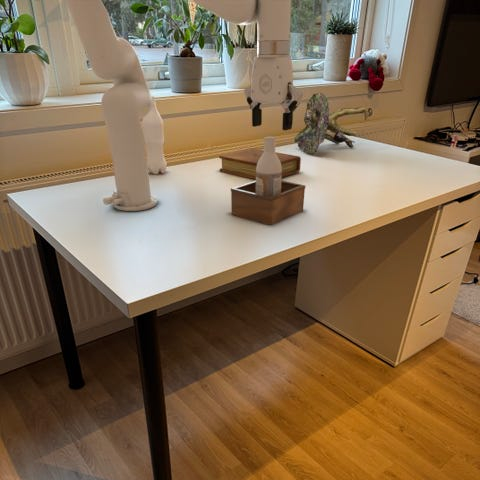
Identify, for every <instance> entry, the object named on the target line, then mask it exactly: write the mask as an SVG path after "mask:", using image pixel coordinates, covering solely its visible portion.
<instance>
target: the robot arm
mask: <svg viewBox="0 0 480 480" xmlns="http://www.w3.org/2000/svg"><path fill="white" fill-rule="evenodd" d="M190 2H193V3H194V4H196V5H197V6H199V7H201V8H202V9H204V10H206V11H208V12H210V13H211V14H213V15H215V16H216V17H219V18H220V19H221V20H223V21H226V22H227V23H230V24H232V25H238V26H248V25H254V24H257V41H256V42H257V43H256V44H255V45H254V50H255V51H256V52H257V56H254V59H253V64H252V69H251V79H250V82H251V83H250V85H249V86H248V87H246V88H244V90H243V92H244V96H245V98H246V102H247V104H248V106H249V109H250V111H251V126H252V127H253V128H254V127H261V126H262V123H263V110H262V108H261V107H262V105H263V104H270V105H280V106H281V107H282V109H283V110H284V112H282V128H281V129H282V130H283V131H290V130H292V129H293V120H294V112H295V111H296V110H297V108H298V107H299V106H300V102H301V101H302V98H303V96H304V93H303V92H302V91H301V90H300V89H299V88H297V87H296V86H295V85H294V72H293V70H294V69H293V61H292V57H291V56H290V39H291V18H292V17H291V15H292V14H291V11H292V0H190ZM65 3H66V5H67V7H68V10H69V12H70V14H71V17H72V20H73V21H74V26H75V28H76V30H77V34H78V37H79V39H80V41H81V44H82V47H83V50H84V52H85V55H86V57H87V61H88V64H89V66H90V68H91V71H92V73H94V74H95V76H96V77H97V78H99V79H101V80H105V81H112V84H113V85H111V86H110V87H109V88H107V89H106V90H105V92H104V93H103V94H102V97H101V102H100V109H101V112H102V117H103V121H104V124H105V127H106V131H107V136H108V141H109V149H110V154H111V161H112V167H113V175H114V181H115V189H116V190H114V191H113V194H112V195H111V196H107V197H103V198H102V203H103V205H105V206H107V205H108V206H109V205H111V204H112V206H113V208H115V209H116V210H119V211H123V212H124V211H125V212H138V211H139V212H140V211H145V210H149V209H152V208H153V207H155V206H156V205H157V203H158V202H157V201H158V200H157V198H156V197H154V196H152V195H151V184H150V176H149V174H150V173H149V171H148V165H147V160H148V155H147V147H146V143H145V140H144V131H143V126H142V123H141V120H143V118H144V117H145V116H147V115H148V113H149V112H150V110H151V106H152V99H151V96H152V94H151V91H150V87H149V84H148V82H147V79H146V75H145V73H144V69H143V67H142V63H141V61H140V57H139V55H138V52H137V51H136V49H135V48H134V46H133V45H132V44H131V43H130V42H129V41H128V40H127V39H125V38H124V37H120V36H117V34H116V32H115V28H114V27H113V24H112V20H111V18H110V15H109V12H108V9H107V7H106V6H105V4H104V3H103V0H65Z"/></svg>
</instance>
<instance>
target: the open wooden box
mask: <svg viewBox="0 0 480 480" xmlns="http://www.w3.org/2000/svg"><path fill="white" fill-rule="evenodd" d="M305 191H306V185H305V184H300V183H297V182H291V181H286V180H281V193H280V194H277V195H274V196H272V197H268V196H264V195H260V194H256V180H253V181H250V182H247V183H243V184H241V185H238V186H235V187H231V188H230V195H231V196H230V197H231V199H230V204H231V207H230V208H231V211H230V212H231V215H233V216H237V217H239V218H243V219H247V220H250V221H254V222H257V223H261V224H264V225H268V226H272V225H274V224H277V223H278V222H281V221H283V220H285V219H288V218H290V217H292V216H294V215H296V214H299V213H301V212H303V211H304V203H305V193H306V192H305Z"/></svg>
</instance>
